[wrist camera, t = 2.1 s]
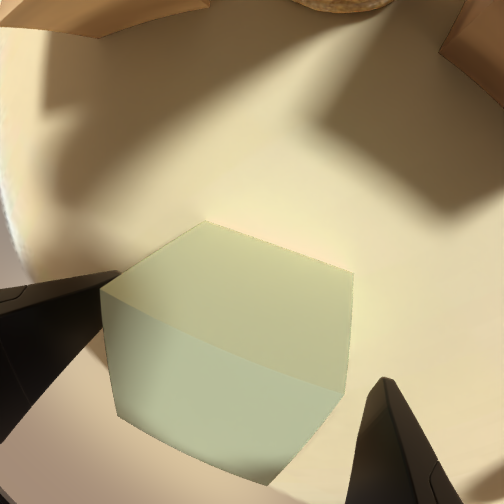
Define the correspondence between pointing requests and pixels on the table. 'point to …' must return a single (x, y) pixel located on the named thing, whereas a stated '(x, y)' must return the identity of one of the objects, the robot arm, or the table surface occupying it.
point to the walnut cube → (479, 45)
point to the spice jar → (344, 5)
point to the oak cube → (90, 14)
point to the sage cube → (228, 348)
